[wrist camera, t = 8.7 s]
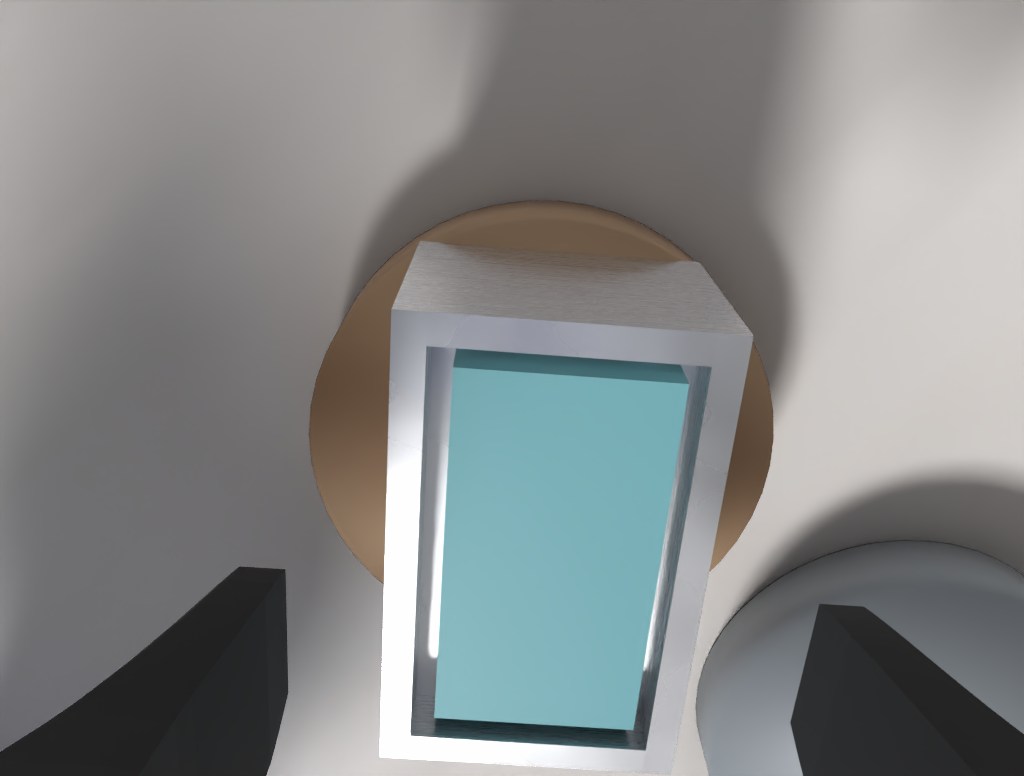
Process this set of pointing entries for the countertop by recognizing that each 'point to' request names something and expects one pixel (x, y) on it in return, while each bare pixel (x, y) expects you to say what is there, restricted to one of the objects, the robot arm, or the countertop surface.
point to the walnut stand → (366, 372)
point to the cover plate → (553, 535)
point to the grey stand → (894, 599)
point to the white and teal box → (424, 460)
